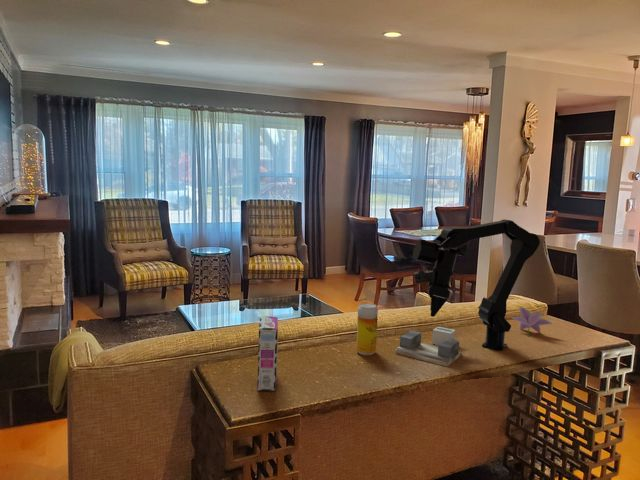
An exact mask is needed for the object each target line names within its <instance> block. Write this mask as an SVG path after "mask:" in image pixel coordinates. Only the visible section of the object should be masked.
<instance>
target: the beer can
mask: <svg viewBox="0 0 640 480" xmlns="http://www.w3.org/2000/svg"><path fill="white" fill-rule="evenodd" d="M378 314H379V309H378V307H377V305H376V304H374V303H368V302H367V303H360V304H359V306H358V307H357V319H356V320H357V325H356V346H355V347H356V348H355V349H356V351H357V353H358V354H359V355H362V356H373V355H374V354H375V353H376V351H377V340H378V339H377V337H378V336H377V335H378V334H377V333H378Z"/></svg>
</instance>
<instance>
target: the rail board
mask: <svg viewBox="0 0 640 480" xmlns="http://www.w3.org/2000/svg"><path fill="white" fill-rule="evenodd" d="M395 354H396V355H400V356H403V357H408V358H413V359H416V360H419V361H422V362H428V363H432V364H435V363H436V364H435V365H439V366H444V367H448V366H450V365H451V364H452V363H454V362H455V361H456V360H457V359H458V358H460V357H461V356H462V351H460V340H458V339H455V340H453V339H447V340H446V341H444V342H443V343H441V344H440V345H433V344H429V343H424V342H422V332H421V331H420V332H419V331H414V330H410V331H408V332H406V333H404V334H403V335H401V336H400V338H399V346H398V347H396V350H395ZM459 356H460V357H459ZM454 360H455V361H454Z"/></svg>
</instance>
